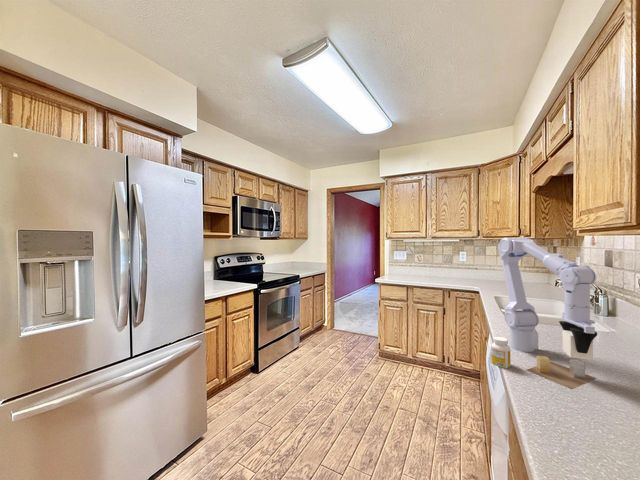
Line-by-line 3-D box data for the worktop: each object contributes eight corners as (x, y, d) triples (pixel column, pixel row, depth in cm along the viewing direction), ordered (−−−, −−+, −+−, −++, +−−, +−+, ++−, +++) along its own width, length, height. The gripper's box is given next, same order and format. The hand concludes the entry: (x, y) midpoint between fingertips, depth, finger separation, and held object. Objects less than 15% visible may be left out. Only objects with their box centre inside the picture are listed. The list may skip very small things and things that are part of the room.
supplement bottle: (502, 362, 94) (502, 335, 94) (514, 370, 89) (514, 341, 89) (488, 363, 94) (487, 335, 94) (498, 371, 89) (498, 341, 89)
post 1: (536, 368, 88) (536, 355, 88) (546, 370, 87) (546, 356, 87) (540, 372, 85) (539, 358, 85) (550, 374, 84) (550, 360, 84)
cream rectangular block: (562, 350, 86) (562, 330, 86) (583, 352, 84) (583, 331, 84) (570, 357, 81) (570, 335, 81) (592, 359, 79) (592, 337, 79)
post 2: (569, 373, 84) (569, 359, 84) (580, 375, 83) (580, 360, 83) (574, 377, 82) (574, 363, 82) (585, 379, 81) (585, 364, 81)
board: (550, 364, 93) (550, 361, 93) (597, 381, 82) (597, 378, 82) (525, 372, 87) (525, 369, 87) (571, 392, 76) (571, 388, 76)
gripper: (609, 312, 74) (609, 361, 74) (581, 300, 88) (581, 341, 88) (576, 310, 77) (576, 357, 77) (554, 299, 90) (554, 338, 91)
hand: (577, 348), depth 83 cm, fingers closed on cream rectangular block, 5 cm apart
